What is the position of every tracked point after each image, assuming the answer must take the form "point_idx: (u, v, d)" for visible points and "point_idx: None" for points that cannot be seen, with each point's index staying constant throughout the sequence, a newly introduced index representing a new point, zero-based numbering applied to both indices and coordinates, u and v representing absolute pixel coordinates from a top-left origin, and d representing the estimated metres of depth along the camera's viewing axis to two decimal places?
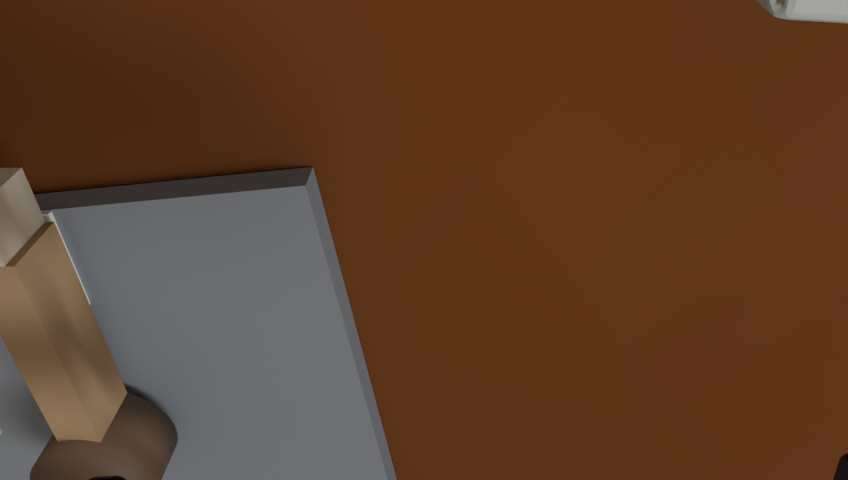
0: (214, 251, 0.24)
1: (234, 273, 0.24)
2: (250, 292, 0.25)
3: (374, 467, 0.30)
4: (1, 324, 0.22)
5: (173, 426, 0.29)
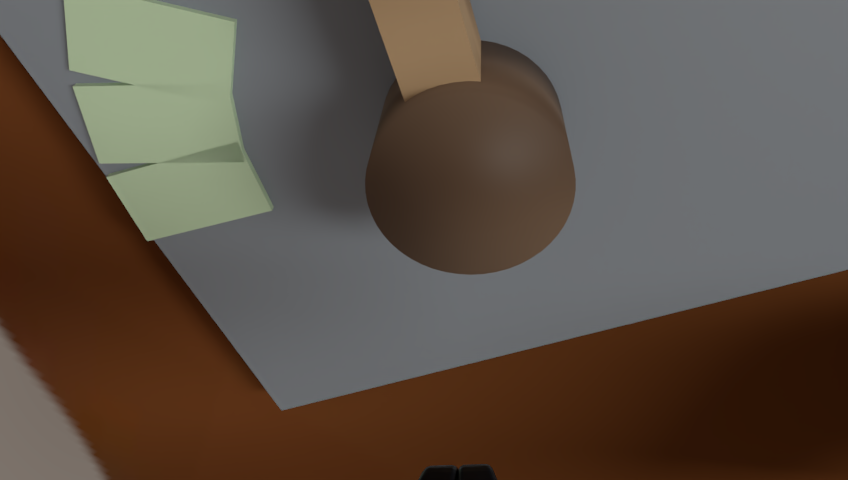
0: None
1: None
2: None
3: None
4: None
5: None
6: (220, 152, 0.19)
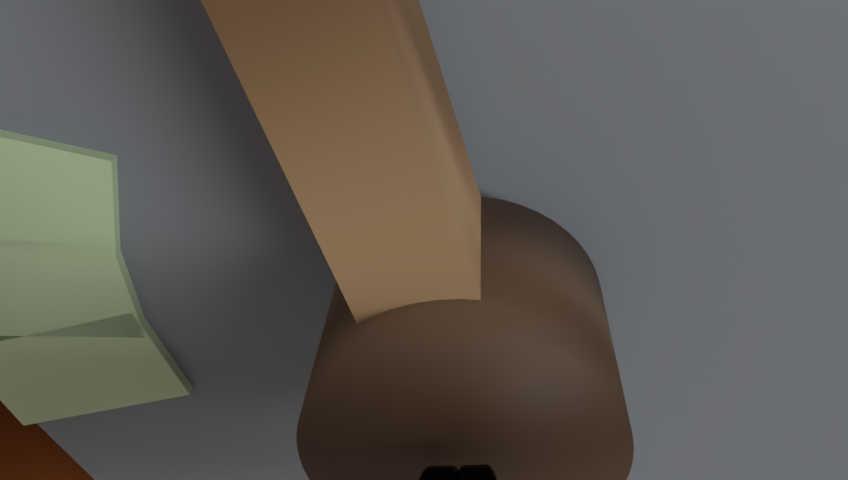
0: None
1: None
2: None
3: None
4: None
5: None
6: (110, 324, 0.13)
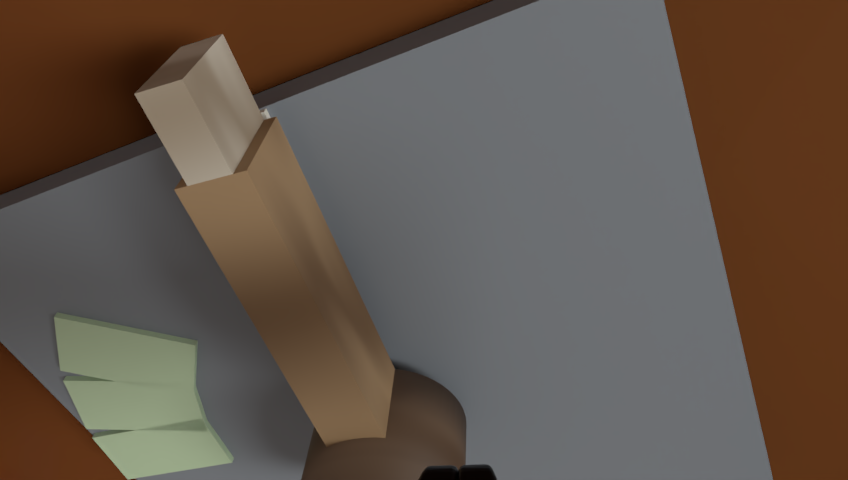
0: (506, 117, 0.16)
1: (538, 147, 0.16)
2: (562, 175, 0.17)
3: (743, 420, 0.21)
4: (236, 276, 0.15)
5: (459, 408, 0.21)
6: (187, 424, 0.22)
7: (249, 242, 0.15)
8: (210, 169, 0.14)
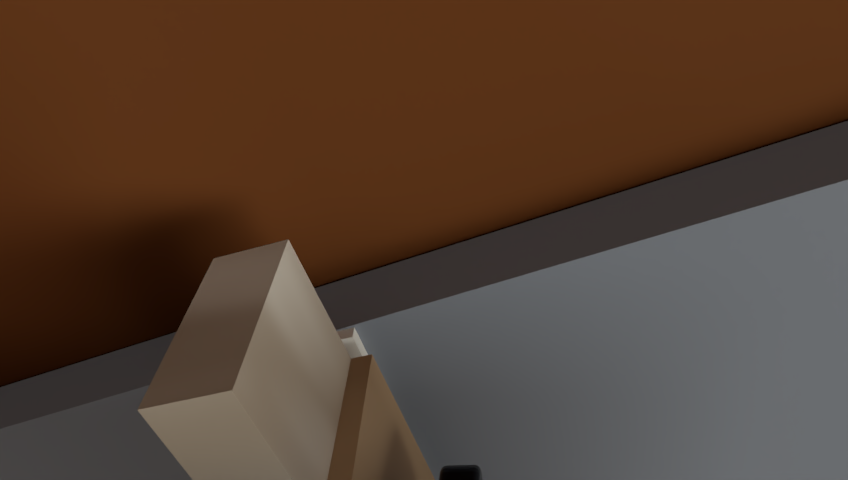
0: (750, 343, 0.10)
1: (792, 383, 0.10)
2: (822, 418, 0.10)
3: None
4: None
5: None
6: None
7: None
8: None
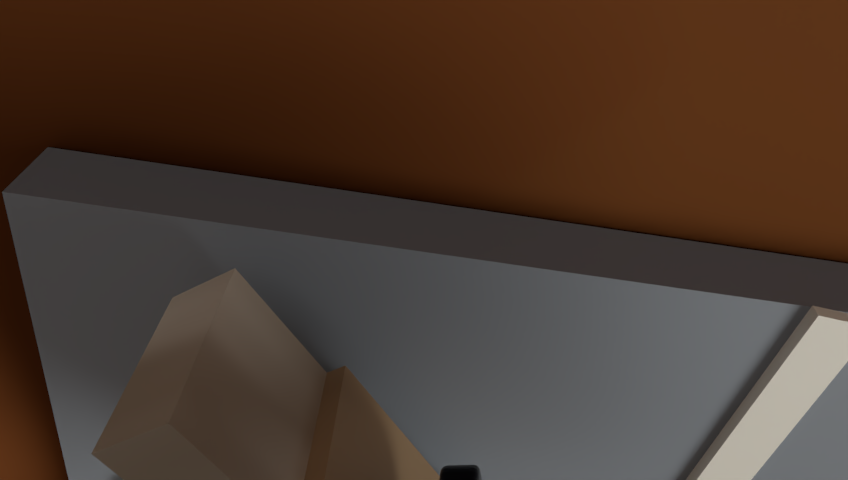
0: None
1: None
2: None
3: None
4: None
5: None
6: None
7: None
8: None
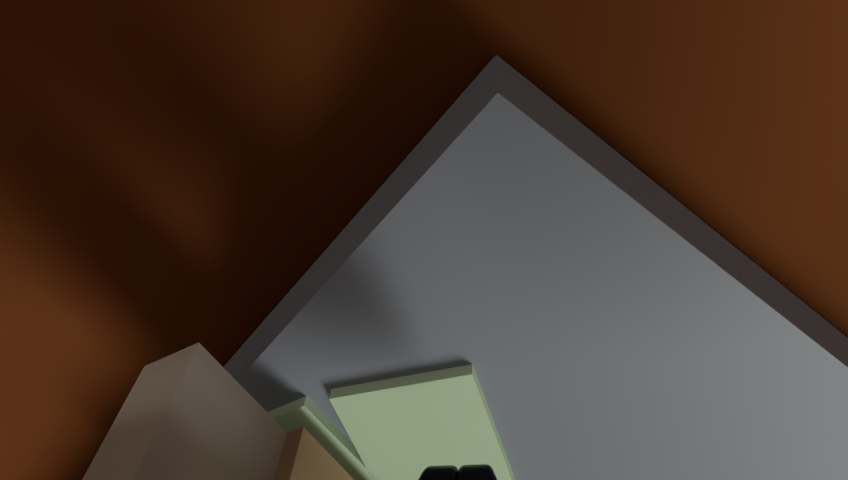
0: None
1: None
2: None
3: None
4: None
5: None
6: None
7: None
8: None
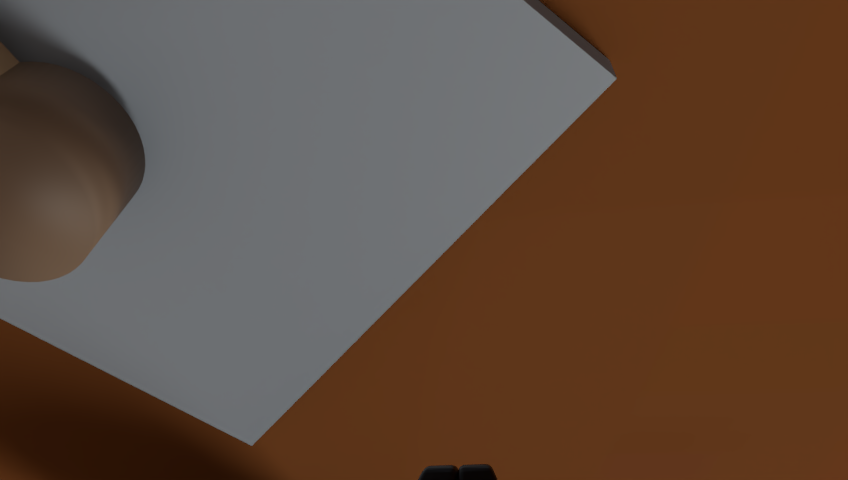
0: (437, 53, 0.17)
1: (426, 93, 0.18)
2: (415, 125, 0.18)
3: (300, 379, 0.24)
4: None
5: (115, 103, 0.18)
6: None
7: None
8: None
